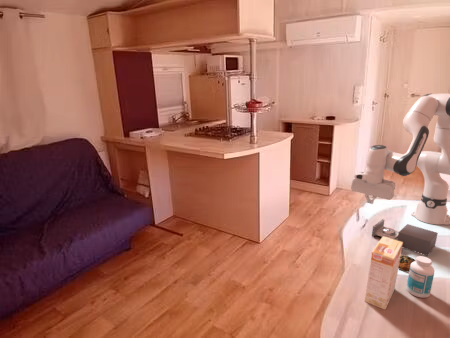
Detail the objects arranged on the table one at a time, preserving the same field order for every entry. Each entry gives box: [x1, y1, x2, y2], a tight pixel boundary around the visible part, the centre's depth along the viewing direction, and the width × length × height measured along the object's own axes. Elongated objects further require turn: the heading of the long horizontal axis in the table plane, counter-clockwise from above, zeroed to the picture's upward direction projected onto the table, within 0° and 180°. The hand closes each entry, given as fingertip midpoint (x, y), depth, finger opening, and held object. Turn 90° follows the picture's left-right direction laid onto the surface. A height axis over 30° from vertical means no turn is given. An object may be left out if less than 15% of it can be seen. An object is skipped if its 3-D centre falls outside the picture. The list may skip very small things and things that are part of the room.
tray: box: [371, 218, 400, 240], centre depth 155 cm, size 13×13×6 cm
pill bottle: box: [406, 255, 435, 299], centre depth 112 cm, size 8×7×14 cm
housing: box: [397, 223, 439, 257], centre depth 147 cm, size 13×13×7 cm
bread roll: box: [398, 254, 416, 273], centre depth 131 cm, size 11×11×5 cm
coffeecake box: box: [364, 236, 403, 310], centre depth 109 cm, size 15×7×20 cm, turn 141°
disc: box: [382, 226, 396, 236], centre depth 156 cm, size 6×6×2 cm
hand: (369, 203), depth 160 cm, fingers closed
